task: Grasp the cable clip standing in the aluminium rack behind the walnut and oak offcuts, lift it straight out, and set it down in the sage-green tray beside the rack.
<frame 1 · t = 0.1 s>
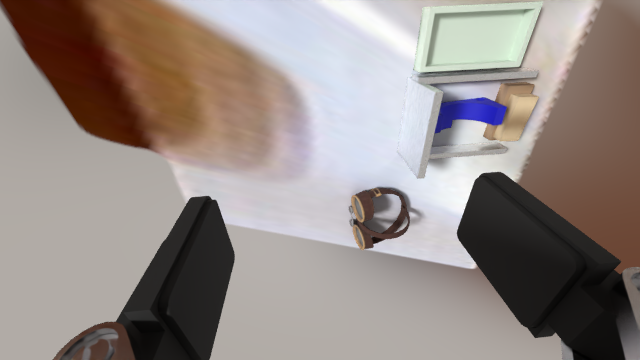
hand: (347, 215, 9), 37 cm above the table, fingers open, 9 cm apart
sage tray: (468, 37, 40), on the table
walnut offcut: (501, 109, 48), on the table, touching oak offcut
goggles: (376, 209, 59), on the table
aluminium rack: (449, 114, 47), on the table
cable clip: (448, 112, 47), resting in aluminium rack
oak offcut: (510, 116, 46), point 2 cm above the table, touching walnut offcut
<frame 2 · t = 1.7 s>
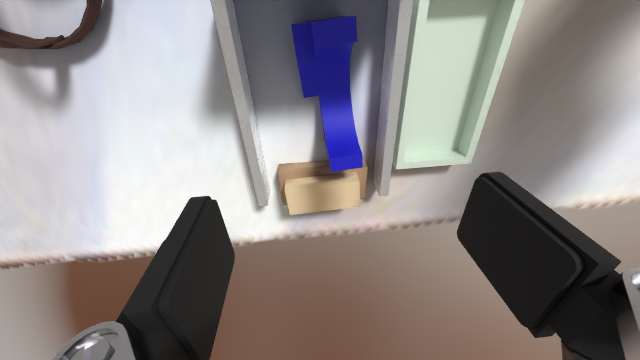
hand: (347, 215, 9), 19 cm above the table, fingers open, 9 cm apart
sage tray: (439, 83, 26), on the table
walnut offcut: (321, 175, 31), on the table, touching oak offcut
aluminium rack: (317, 92, 25), on the table
cable clip: (325, 89, 25), resting in aluminium rack
oak offcut: (322, 188, 29), point 2 cm above the table, touching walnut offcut
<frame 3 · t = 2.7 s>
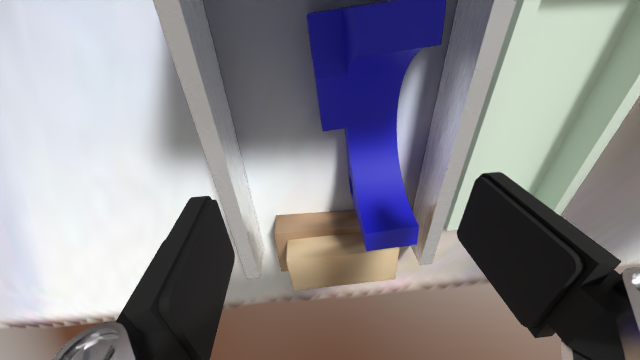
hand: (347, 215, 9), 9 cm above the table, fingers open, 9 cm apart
sage tray: (521, 109, 17), on the table
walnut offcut: (336, 227, 22), on the table, touching oak offcut
aluminium rack: (334, 121, 16), on the table
cable clip: (354, 116, 17), resting in aluminium rack
oak offcut: (340, 249, 20), point 2 cm above the table, touching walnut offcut
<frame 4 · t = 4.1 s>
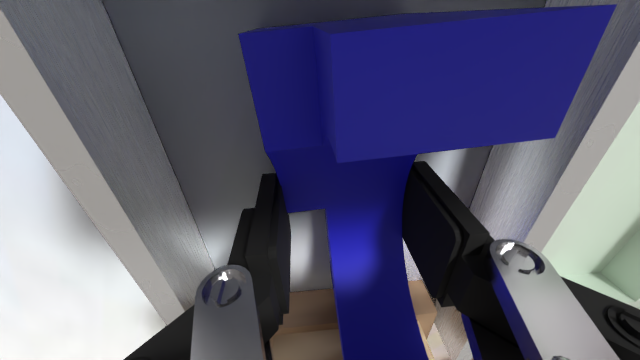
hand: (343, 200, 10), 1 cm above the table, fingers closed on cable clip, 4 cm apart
sage tray: (608, 164, 11), on the table
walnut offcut: (338, 301, 17), on the table, touching oak offcut
aluminium rack: (337, 186, 11), on the table
cable clip: (339, 181, 11), resting in aluminium rack, touching gripper
oak offcut: (346, 343, 15), point 2 cm above the table, touching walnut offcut
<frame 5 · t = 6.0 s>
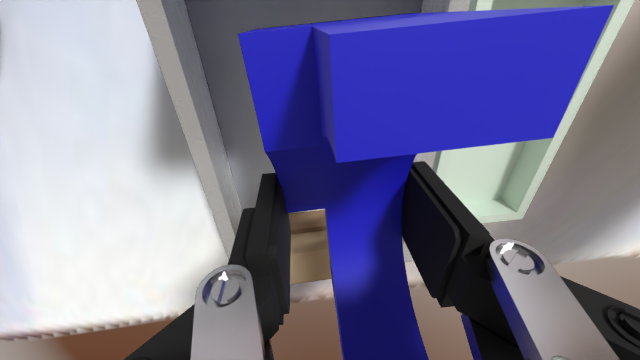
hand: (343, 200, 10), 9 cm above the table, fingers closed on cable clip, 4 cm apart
sage tray: (484, 116, 18), on the table
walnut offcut: (321, 225, 23), on the table, touching oak offcut
aluminium rack: (315, 130, 18), on the table
cable clip: (338, 181, 11), point 8 cm above the table, touching gripper
oak offcut: (323, 245, 21), point 2 cm above the table, touching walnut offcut
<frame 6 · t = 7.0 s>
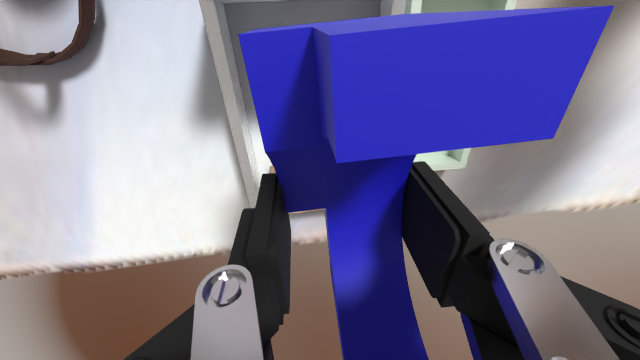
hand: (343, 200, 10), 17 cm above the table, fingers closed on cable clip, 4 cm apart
sage tray: (432, 88, 26), on the table
aluminium rack: (310, 97, 25), on the table
cable clip: (338, 181, 11), point 16 cm above the table, touching gripper
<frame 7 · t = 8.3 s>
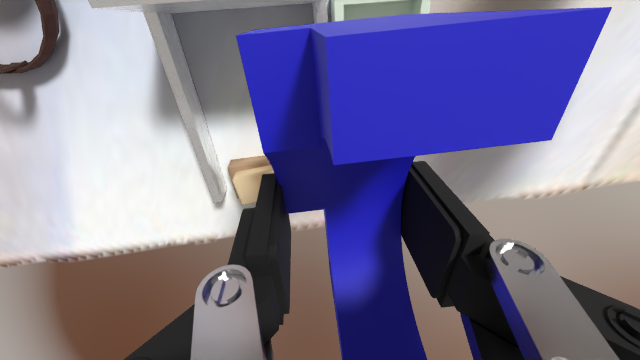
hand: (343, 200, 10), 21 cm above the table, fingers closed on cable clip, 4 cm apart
sage tray: (371, 85, 28), on the table
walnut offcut: (274, 168, 33), on the table, touching oak offcut
aluminium rack: (259, 95, 27), on the table
cable clip: (338, 182, 11), point 19 cm above the table, touching gripper
oak offcut: (272, 177, 31), point 2 cm above the table, touching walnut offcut
when the fingers open (3 cm above the table, at t = 12.7 s): cable clip drops 1 cm, resting on sage tray.
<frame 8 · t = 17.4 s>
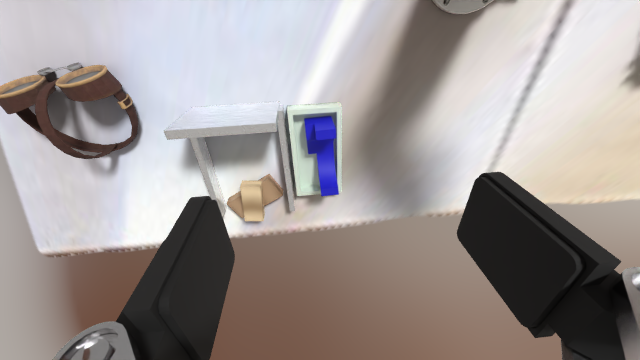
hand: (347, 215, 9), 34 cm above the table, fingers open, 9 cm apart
sage tray: (316, 149, 46), on the table
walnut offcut: (256, 192, 50), on the table, touching oak offcut
goggles: (94, 109, 39), on the table
aluminium rack: (247, 154, 45), on the table
cable clip: (320, 148, 45), resting on sage tray
oak offcut: (254, 198, 48), point 2 cm above the table, touching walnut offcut
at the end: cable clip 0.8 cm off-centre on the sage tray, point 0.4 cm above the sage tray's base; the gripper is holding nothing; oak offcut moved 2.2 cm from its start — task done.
